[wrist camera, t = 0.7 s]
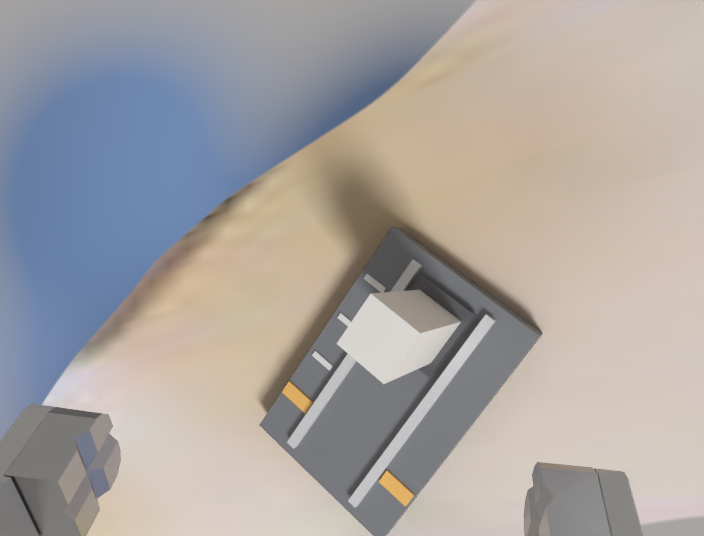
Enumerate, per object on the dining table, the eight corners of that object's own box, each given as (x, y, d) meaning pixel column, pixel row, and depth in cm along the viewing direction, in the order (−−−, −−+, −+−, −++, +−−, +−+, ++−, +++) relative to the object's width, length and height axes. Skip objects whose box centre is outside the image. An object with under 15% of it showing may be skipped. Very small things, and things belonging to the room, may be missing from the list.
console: (400, 228, 52) (389, 226, 50) (542, 333, 47) (538, 336, 45) (271, 420, 57) (255, 426, 54) (388, 532, 52) (377, 545, 50)
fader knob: (424, 275, 49) (373, 275, 39) (476, 314, 47) (436, 325, 37) (381, 336, 50) (322, 351, 40) (430, 376, 48) (381, 401, 39)
